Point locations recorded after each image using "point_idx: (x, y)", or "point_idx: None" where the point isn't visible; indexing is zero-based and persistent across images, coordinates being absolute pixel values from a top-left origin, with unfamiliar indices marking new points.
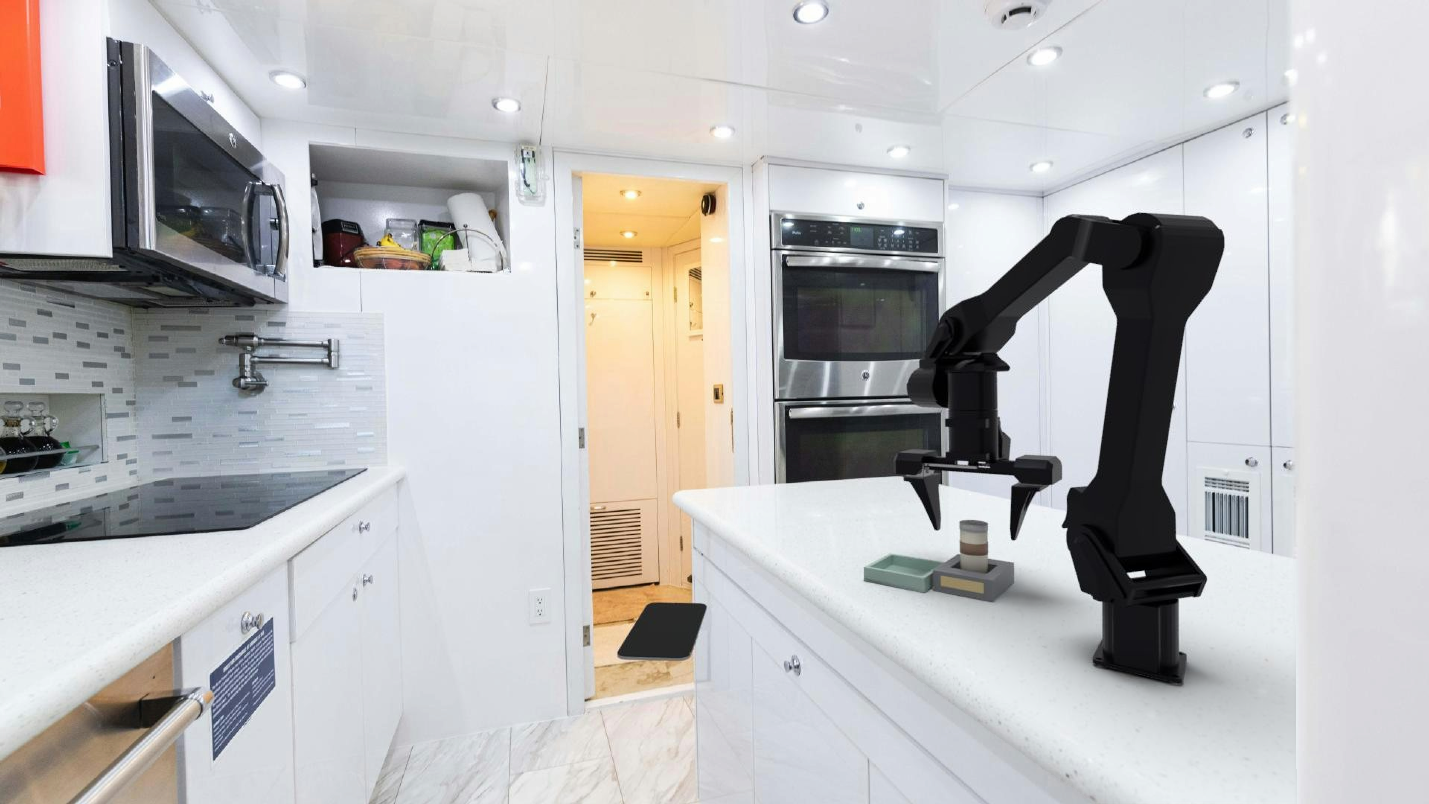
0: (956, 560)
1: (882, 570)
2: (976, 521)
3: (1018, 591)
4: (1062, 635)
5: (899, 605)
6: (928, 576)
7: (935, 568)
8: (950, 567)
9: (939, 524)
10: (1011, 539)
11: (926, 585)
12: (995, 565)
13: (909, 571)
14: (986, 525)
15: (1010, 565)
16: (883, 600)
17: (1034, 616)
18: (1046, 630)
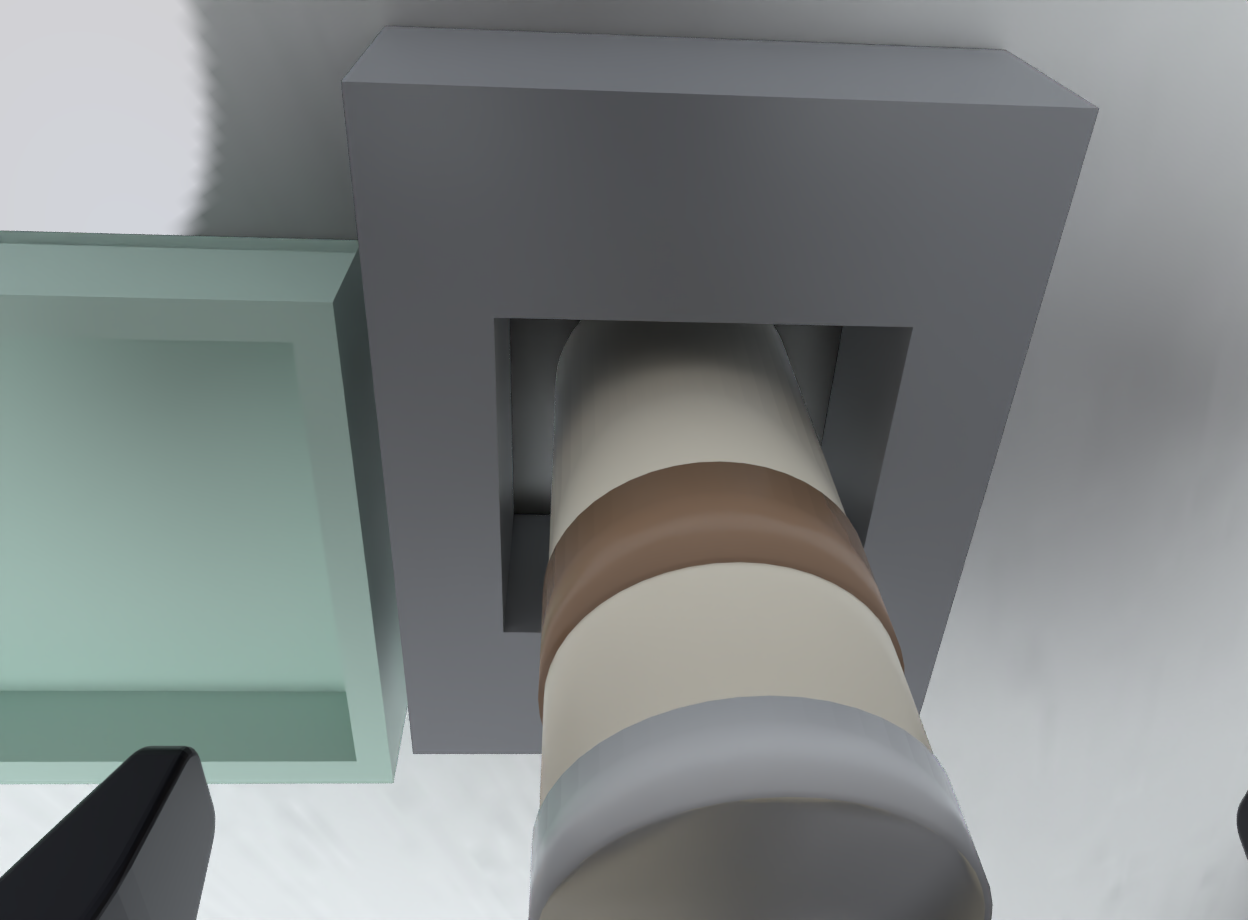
0: (457, 390)
1: (27, 783)
2: (786, 864)
3: (1038, 314)
4: (1224, 843)
5: (396, 895)
6: (385, 711)
7: (408, 709)
8: (504, 626)
9: (177, 844)
10: (1242, 831)
11: (398, 696)
12: (883, 318)
13: (30, 393)
14: None
15: (1051, 266)
16: (280, 882)
17: (1116, 709)
18: (1156, 830)
